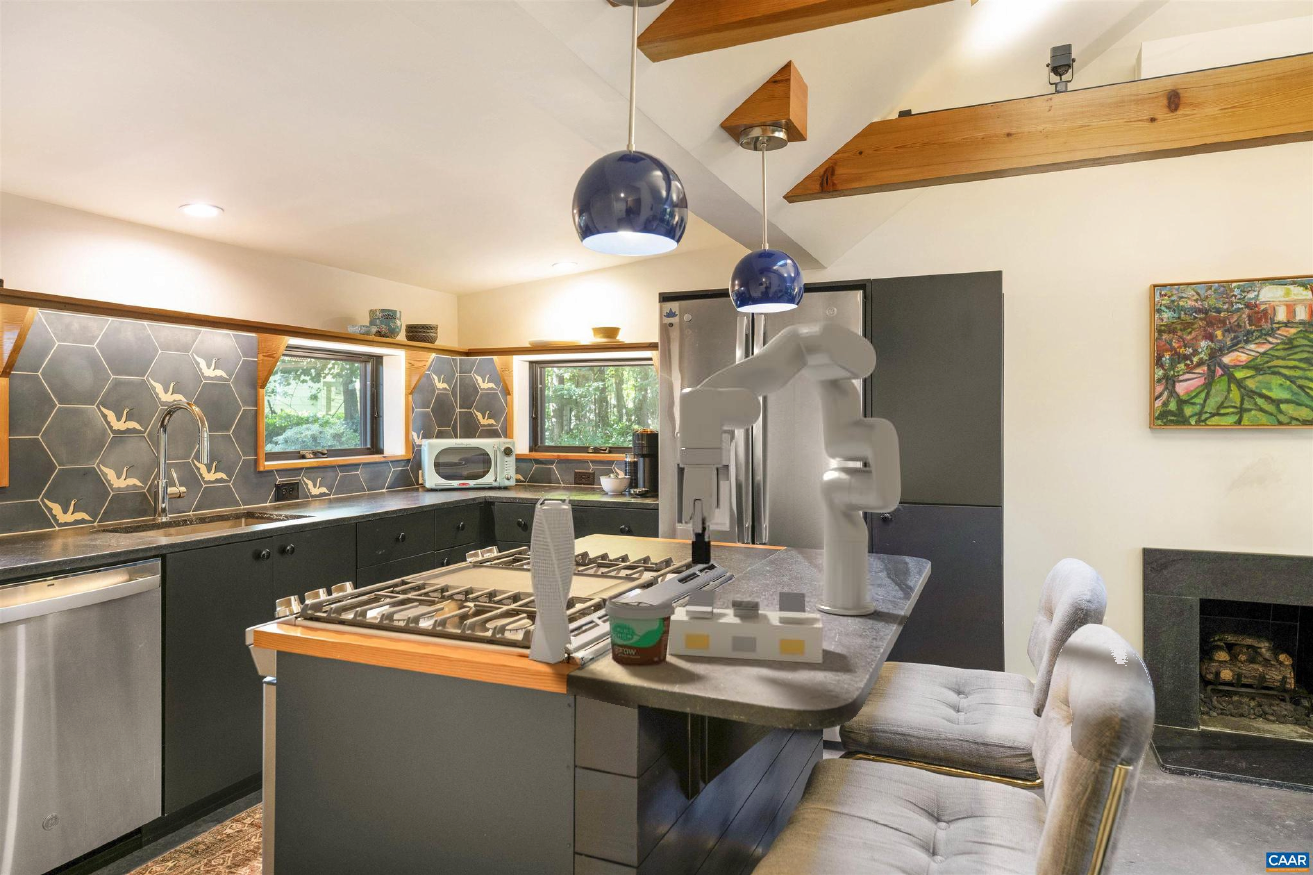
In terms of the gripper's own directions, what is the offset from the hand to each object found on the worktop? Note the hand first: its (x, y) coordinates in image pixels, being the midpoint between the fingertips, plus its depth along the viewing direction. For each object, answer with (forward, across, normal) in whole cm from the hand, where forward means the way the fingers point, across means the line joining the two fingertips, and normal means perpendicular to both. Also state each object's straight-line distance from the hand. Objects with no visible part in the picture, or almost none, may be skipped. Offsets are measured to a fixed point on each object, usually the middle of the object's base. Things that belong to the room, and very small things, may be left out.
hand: (701, 563), depth 132 cm
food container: (+15, +8, -10) cm, 21 cm away
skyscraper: (+15, +8, -24) cm, 30 cm away
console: (+16, -3, +8) cm, 18 cm away
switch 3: (+8, -3, +16) cm, 18 cm away
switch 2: (+8, -3, +8) cm, 11 cm away
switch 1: (+8, -3, 0) cm, 8 cm away
